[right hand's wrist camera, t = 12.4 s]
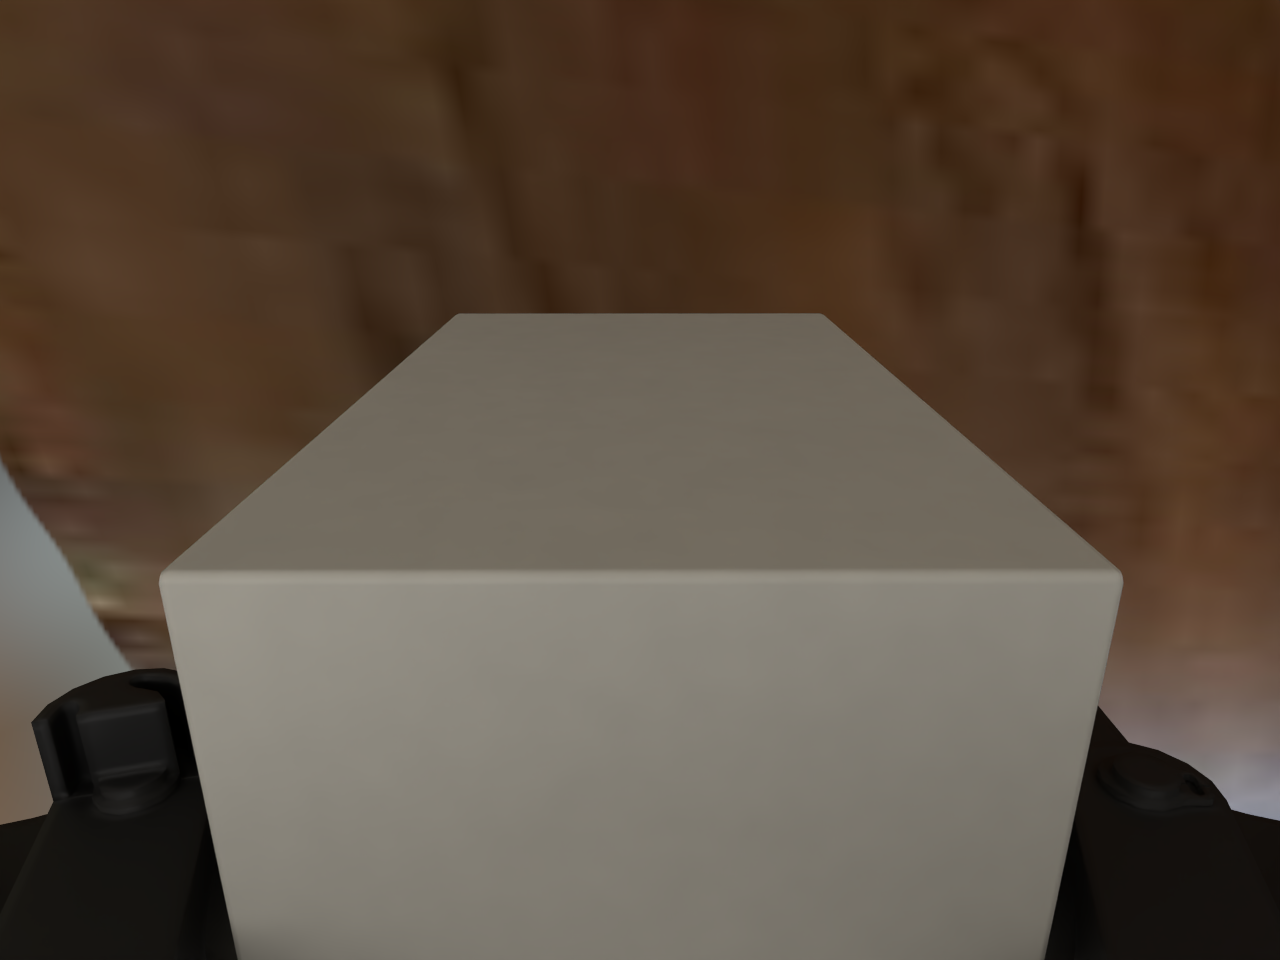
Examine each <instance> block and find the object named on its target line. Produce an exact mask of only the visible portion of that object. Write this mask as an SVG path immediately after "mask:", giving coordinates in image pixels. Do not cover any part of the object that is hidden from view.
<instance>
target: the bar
mask: <svg viewBox="0 0 1280 960" xmlns="http://www.w3.org/2000/svg"><path fill="white" fill-rule="evenodd" d="M159 586H160V591H161V596H162V601H163V606H164V610H165V615H166V620H167V625H168V629H169V634H170V639H171V644H172V648H173V653H174V658H175V663H176V668H177V672H178V677H179V682H180V687H181V691H182V696H183V701H184V706H185V710H186V715H187V720H188V725H189V730H190V734H191V739H192V744H193V749H194V753H195V758H196V763H197V768H198V773H199V777H200V782H201V787H202V792H203V796H204V801H205V806H206V811H207V815H208V820H209V825H210V830H211V835H212V839H213V844H214V849H215V854H216V858H217V863H218V868H219V873H220V877H221V882H222V887H223V892H224V897H225V901H226V906H227V911H228V916H229V920H230V925H231V930H232V935H233V939H234V944H235V949H236V954H237V959H238V960H1044V959H1045V954H1046V949H1047V945H1048V940H1049V935H1050V930H1051V925H1052V921H1053V916H1054V911H1055V906H1056V902H1057V897H1058V892H1059V887H1060V883H1061V878H1062V873H1063V868H1064V864H1065V859H1066V854H1067V849H1068V845H1069V840H1070V835H1071V830H1072V825H1073V821H1074V816H1075V811H1076V806H1077V802H1078V797H1079V792H1080V787H1081V783H1082V778H1083V773H1084V768H1085V764H1086V759H1087V754H1088V749H1089V745H1090V740H1091V735H1092V730H1093V726H1094V721H1095V716H1096V711H1097V706H1098V702H1099V697H1100V692H1101V687H1102V683H1103V678H1104V673H1105V668H1106V664H1107V659H1108V654H1109V649H1110V645H1111V640H1112V635H1113V630H1114V626H1115V621H1116V616H1117V611H1118V607H1119V602H1120V597H1121V592H1122V587H1123V577H1122V574H1121V571H1120V570H1119V569H1118V568H1116V567H1115V566H1114V565H1113V564H1112V563H1111V562H1109V561H1108V560H1107V559H1106V558H1105V557H1104V556H1103V555H1101V554H1100V553H1099V552H1098V551H1097V550H1096V549H1094V548H1093V547H1092V546H1091V545H1090V544H1089V543H1087V542H1086V541H1085V540H1084V539H1083V538H1082V537H1080V536H1079V535H1078V534H1077V533H1076V532H1075V531H1074V530H1072V529H1071V528H1070V527H1069V526H1068V525H1067V524H1065V523H1064V522H1063V521H1062V520H1061V519H1060V518H1058V517H1057V516H1056V515H1055V514H1054V513H1053V512H1051V511H1050V510H1049V509H1048V508H1047V507H1046V506H1045V505H1043V504H1042V503H1041V502H1040V501H1039V500H1038V499H1036V498H1035V497H1034V496H1033V495H1032V494H1031V493H1029V492H1028V491H1027V490H1026V489H1025V488H1024V487H1023V486H1021V485H1020V484H1019V483H1018V482H1017V481H1016V480H1014V479H1013V478H1012V477H1011V476H1010V475H1009V474H1007V473H1006V472H1005V471H1004V470H1003V469H1002V468H1000V467H999V466H998V465H997V464H996V463H995V462H994V461H992V460H991V459H990V458H989V457H988V456H987V455H985V454H984V453H983V452H982V451H981V450H980V449H978V448H977V447H976V446H975V445H974V444H973V443H972V442H970V441H969V440H968V439H967V438H966V437H965V436H963V435H962V434H961V433H960V432H959V431H958V430H956V429H955V428H954V427H953V426H952V425H951V424H949V423H948V422H947V421H946V420H945V419H944V418H943V417H941V416H940V415H939V414H938V413H937V412H936V411H934V410H933V409H932V408H931V407H930V406H929V405H927V404H926V403H925V402H924V401H923V400H922V399H921V398H919V397H918V396H917V395H916V394H915V393H914V392H912V391H911V390H910V389H909V388H908V387H907V386H905V385H904V384H903V383H902V382H901V381H900V380H898V379H897V378H896V377H895V376H894V375H893V374H892V373H890V372H889V371H888V370H887V369H886V368H885V367H883V366H882V365H881V364H880V363H879V362H878V361H876V360H875V359H874V358H873V357H872V356H871V355H870V354H868V353H867V352H866V351H865V350H864V349H863V348H861V347H860V346H859V345H858V344H857V343H856V342H854V341H853V340H852V339H851V338H850V337H849V336H847V335H846V334H845V333H844V332H843V331H842V330H841V329H839V328H838V327H837V326H836V325H835V324H834V323H832V322H831V321H830V320H829V319H828V318H827V317H825V316H824V315H823V314H457V315H455V316H454V317H453V318H452V319H451V320H450V321H449V322H447V323H446V324H445V325H444V326H443V327H442V328H441V329H439V330H438V331H437V332H436V333H435V334H434V335H433V336H431V337H430V338H429V339H428V340H427V341H426V342H424V343H423V344H422V345H421V346H420V347H419V348H418V349H416V350H415V351H414V352H413V353H412V354H411V355H410V356H408V357H407V358H406V359H405V360H404V361H403V362H402V363H400V364H399V365H398V366H397V367H396V368H395V369H394V370H392V371H391V372H390V373H389V374H388V375H387V376H386V377H384V378H383V379H382V380H381V381H380V382H379V383H378V384H376V385H375V386H374V387H373V388H372V389H371V390H370V391H368V392H367V393H366V394H365V395H364V396H363V397H361V398H360V399H359V400H358V401H357V402H356V403H355V404H353V405H352V406H351V407H350V408H349V409H348V410H347V411H345V412H344V413H343V414H342V415H341V416H340V417H339V418H337V419H336V420H335V421H334V422H333V423H332V424H331V425H329V426H328V427H327V428H326V429H325V430H324V431H323V432H321V433H320V434H319V435H318V436H317V437H316V438H315V439H313V440H312V441H311V442H310V443H309V444H308V445H307V446H305V447H304V448H303V449H302V450H301V451H300V452H298V453H297V454H296V455H295V456H294V457H293V458H292V459H290V460H289V461H288V462H287V463H286V464H285V465H284V466H282V467H281V468H280V469H279V470H278V471H277V472H276V473H274V474H273V475H272V476H271V477H270V478H269V479H268V480H266V481H265V482H264V483H263V484H262V485H261V486H260V487H258V488H257V489H256V490H255V491H254V492H253V493H252V494H250V495H249V496H248V497H247V498H246V499H245V500H244V501H242V502H241V503H240V504H239V505H238V506H237V507H235V508H234V509H233V510H232V511H231V512H230V513H229V514H227V515H226V516H225V517H224V518H223V519H222V520H221V521H219V522H218V523H217V524H216V525H215V526H214V527H213V528H211V529H210V530H209V531H208V532H207V533H206V534H205V535H203V536H202V537H201V538H200V539H199V540H198V541H197V542H195V543H194V544H193V545H192V546H191V547H190V548H189V549H187V550H186V551H185V552H184V553H183V554H182V555H180V556H179V557H178V558H177V559H176V560H175V561H174V562H172V563H171V564H170V565H169V566H168V567H167V568H166V569H164V570H163V571H162V573H161V575H160V580H159Z"/></svg>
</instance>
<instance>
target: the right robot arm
mask: <svg viewBox="0 0 1280 960" xmlns="http://www.w3.org/2000/svg"><path fill="white" fill-rule="evenodd" d="M31 723H32V727H33V730H34V734H35V737H36V741H37V745H38V748H39V751H40V755H41V759H42V762H43V766H44V769H45V773H46V777H47V780H48V784H49V787H50V791H51V794H52V798H53V801H54V802H53V804H52V806H51V808H50V810H49V812H48V814H46V815H42V816H39V817H35V818H31V819H26V820H21V821H17V822H12V823H7V824H2V825H0V960H238V959H237V954H236V949H235V944H234V939H233V935H232V930H231V925H230V920H229V916H228V911H227V906H226V901H225V897H224V892H223V887H222V882H221V877H220V873H219V868H218V863H217V858H216V854H215V849H214V844H213V839H212V835H211V830H210V825H209V820H208V815H207V811H206V806H205V801H204V796H203V792H202V787H201V782H200V777H199V773H198V768H197V763H196V758H195V753H194V749H193V744H192V739H191V734H190V730H189V725H188V720H187V715H186V710H185V706H184V701H183V696H182V691H181V687H180V682H179V677H178V672H177V671H175V670H170V669H165V668H159V669H138V670H132V671H127V672H123V673H118V674H114V675H109V676H105V677H102V678H99V679H97V680H94V681H92V682H89V683H87V684H84V685H82V686H79V687H77V688H74V689H72V690H71V691H69V692H67V693H66V694H64V695H63V696H61V697H59V698H58V699H56V700H55V701H53V702H51V703H50V704H48V705H47V706H46V707H45V708H44V709H43V710H42V711H41V713H40V714H39V715H38V716H37V717H36V718H35V719H34V720H33V721H32V722H31ZM1044 960H1280V821H1278V820H1273V819H1268V818H1264V817H1259V816H1254V815H1249V814H1245V813H1242V812H1238V811H1234V810H1231V808H1230V806H1229V804H1228V802H1227V800H1226V799H1225V798H1224V796H1223V795H1222V794H1221V792H1220V791H1219V790H1218V789H1217V787H1216V786H1215V785H1214V783H1213V782H1212V781H1211V780H1209V779H1208V778H1207V777H1205V776H1204V775H1203V774H1201V773H1200V772H1198V771H1197V770H1196V769H1194V768H1193V767H1192V766H1190V765H1189V764H1187V763H1185V762H1183V761H1181V760H1179V759H1176V758H1174V757H1172V756H1170V755H1168V754H1165V753H1163V752H1161V751H1159V750H1155V749H1152V748H1148V747H1144V746H1140V745H1136V744H1132V743H1129V742H1128V741H1127V740H1126V739H1125V738H1124V736H1123V735H1122V734H1121V733H1120V732H1119V730H1118V729H1117V728H1116V727H1115V726H1114V724H1113V723H1112V722H1111V721H1110V720H1109V718H1108V717H1107V716H1106V715H1105V714H1104V712H1103V711H1102V710H1101V709H1100V708H1099V706H1097V711H1096V716H1095V721H1094V726H1093V730H1092V735H1091V740H1090V745H1089V749H1088V754H1087V759H1086V764H1085V768H1084V773H1083V778H1082V783H1081V787H1080V792H1079V797H1078V802H1077V806H1076V811H1075V816H1074V821H1073V825H1072V830H1071V835H1070V840H1069V845H1068V849H1067V854H1066V859H1065V864H1064V868H1063V873H1062V878H1061V883H1060V887H1059V892H1058V897H1057V902H1056V906H1055V911H1054V916H1053V921H1052V925H1051V930H1050V935H1049V940H1048V945H1047V949H1046V954H1045V959H1044Z"/></svg>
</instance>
